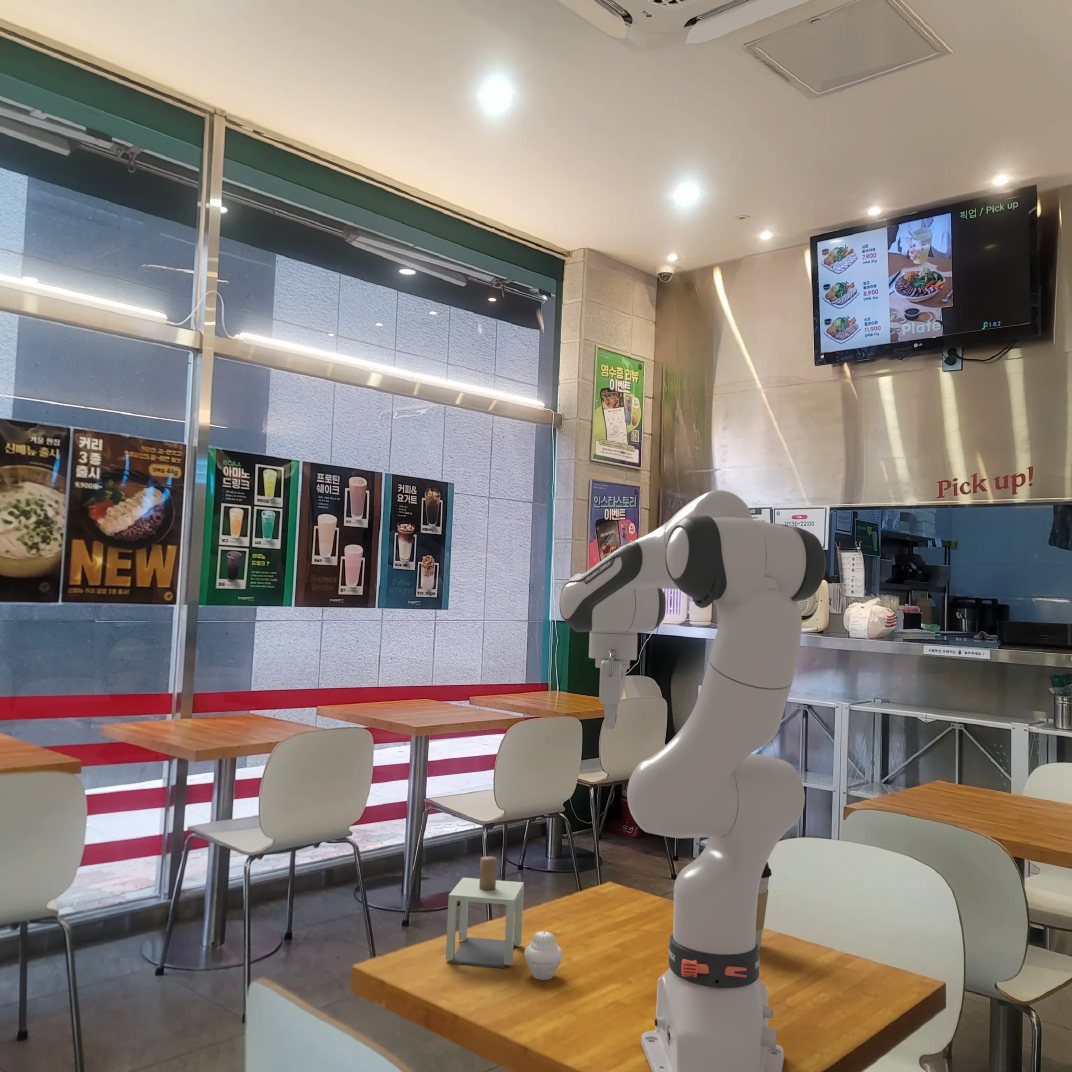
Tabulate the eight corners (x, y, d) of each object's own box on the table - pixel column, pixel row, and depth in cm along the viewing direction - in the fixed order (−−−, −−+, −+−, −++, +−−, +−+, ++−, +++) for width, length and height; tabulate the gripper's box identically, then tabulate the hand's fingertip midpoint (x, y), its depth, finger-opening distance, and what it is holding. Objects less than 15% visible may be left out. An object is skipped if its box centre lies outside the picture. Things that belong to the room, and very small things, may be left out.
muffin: (554, 967, 151) (555, 923, 152) (567, 981, 145) (568, 935, 146) (518, 970, 149) (520, 926, 150) (530, 985, 143) (532, 938, 144)
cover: (511, 965, 150) (515, 868, 152) (445, 959, 152) (450, 863, 153) (521, 943, 161) (525, 853, 163) (460, 937, 163) (464, 848, 164)
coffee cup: (722, 933, 172) (724, 851, 173) (775, 943, 168) (776, 858, 169) (708, 948, 163) (710, 862, 165) (764, 959, 159) (765, 870, 160)
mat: (504, 968, 150) (504, 965, 150) (450, 963, 151) (450, 960, 151) (515, 943, 162) (515, 941, 162) (465, 939, 163) (465, 936, 163)
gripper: (629, 651, 158) (626, 732, 157) (631, 649, 178) (628, 721, 177) (592, 649, 159) (590, 731, 157) (598, 648, 179) (596, 720, 178)
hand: (610, 726), depth 167 cm, fingers open, 8 cm apart
